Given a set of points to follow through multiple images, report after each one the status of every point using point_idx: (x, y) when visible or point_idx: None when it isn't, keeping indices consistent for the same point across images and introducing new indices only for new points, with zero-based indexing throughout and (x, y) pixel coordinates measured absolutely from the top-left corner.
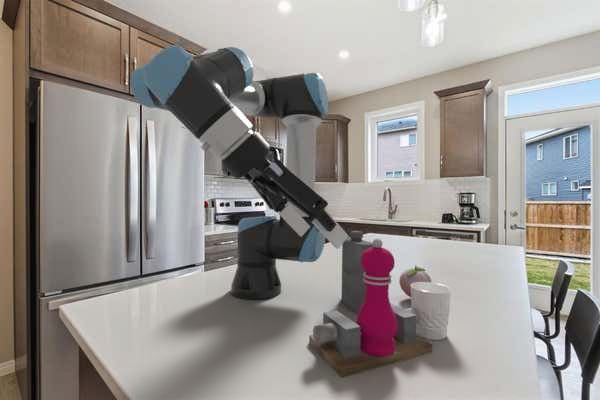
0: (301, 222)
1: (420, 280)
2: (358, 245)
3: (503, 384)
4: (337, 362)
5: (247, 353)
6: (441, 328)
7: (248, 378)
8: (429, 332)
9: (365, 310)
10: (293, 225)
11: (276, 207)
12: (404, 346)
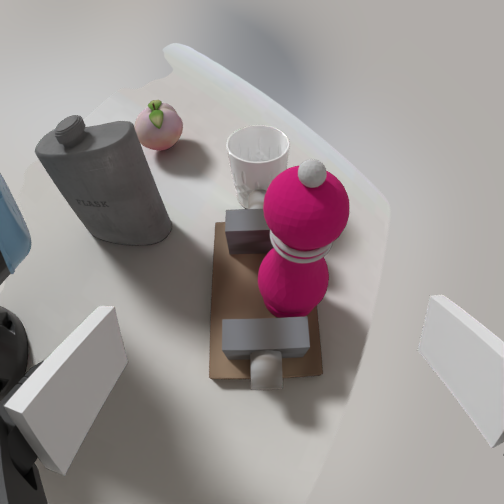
0: (98, 349)
1: (175, 121)
2: (105, 151)
3: (376, 211)
4: (307, 373)
5: (203, 480)
6: None
7: (272, 494)
8: None
9: (302, 292)
10: (99, 395)
11: (43, 500)
12: None
